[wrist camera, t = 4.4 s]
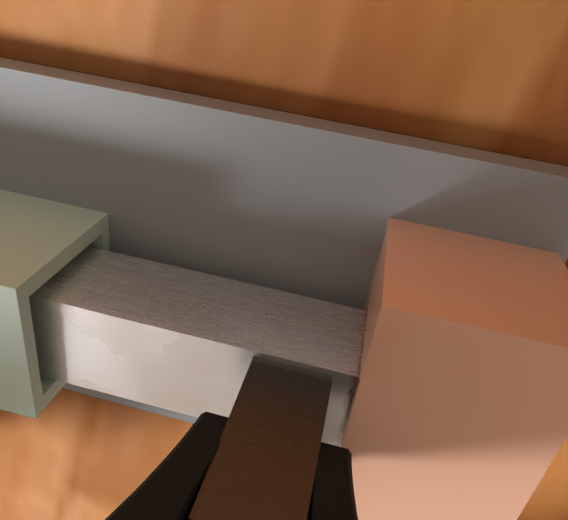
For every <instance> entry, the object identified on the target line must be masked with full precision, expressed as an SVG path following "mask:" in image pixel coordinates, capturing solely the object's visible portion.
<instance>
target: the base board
mask: <svg viewBox="0 0 568 520" xmlns="http://www.w3.org/2000/svg"><path fill="white" fill-rule="evenodd" d="M0 189H2V190H6V191H11V192H15V193H19V194H24V195H28V196H33V197H37V198H42V199H46V200H51V201H55V202H60V203H64V204H69V205H73V206H78V207H82V208H86V209H91V210H95V211H100V212H104V213H108V219H109V242H110V251H112V252H116V253H121V254H125V255H129V256H133V257H138V258H142V259H146V260H151V261H155V262H159V263H164V264H168V265H172V266H176V267H181V268H185V269H189V270H194V271H198V272H202V273H207V274H211V275H215V276H220V277H224V278H228V279H232V280H237V281H241V282H245V283H250V284H254V285H258V286H263V287H267V288H271V289H276V290H280V291H284V292H288V293H293V294H297V295H301V296H306V297H310V298H314V299H319V300H323V301H327V302H331V303H336V304H340V305H344V306H349V307H353V308H357V309H362V310H365V306H366V302H367V298H368V295H369V291H370V287H371V283H372V279H373V276H374V272H375V268H376V264H377V261H378V257H379V253H380V249H381V245H382V242H383V238H384V234H385V230H386V226H387V223H388V219H389V218H394V219H399V220H404V221H408V222H413V223H418V224H423V225H427V226H432V227H437V228H442V229H446V230H451V231H456V232H461V233H465V234H470V235H475V236H480V237H484V238H489V239H494V240H498V241H503V242H508V243H513V244H517V245H522V246H527V247H532V248H536V249H541V250H546V251H551V252H555V253H559V254H560V255H561V257H562V259H563V261H564V263H566V261H567V259H568V166H563V165H558V164H552V163H547V162H542V161H537V160H532V159H527V158H521V157H516V156H511V155H506V154H501V153H495V152H490V151H485V150H480V149H475V148H469V147H464V146H459V145H454V144H449V143H444V142H438V141H433V140H428V139H423V138H418V137H412V136H407V135H402V134H397V133H392V132H386V131H381V130H376V129H371V128H366V127H360V126H355V125H350V124H345V123H340V122H335V121H329V120H324V119H319V118H314V117H309V116H303V115H298V114H293V113H288V112H283V111H277V110H272V109H267V108H262V107H257V106H252V105H246V104H241V103H236V102H231V101H226V100H220V99H215V98H210V97H205V96H200V95H194V94H189V93H184V92H179V91H174V90H168V89H163V88H158V87H153V86H148V85H143V84H137V83H132V82H127V81H122V80H117V79H111V78H106V77H101V76H96V75H91V74H85V73H80V72H75V71H70V70H65V69H60V68H54V67H49V66H44V65H39V64H34V63H28V62H23V61H18V60H13V59H8V58H2V57H0ZM62 389H66V390H70V391H73V392H77V393H81V394H85V395H88V396H92V397H96V398H100V399H103V400H107V401H111V402H115V403H118V404H122V405H126V406H130V407H133V408H137V409H141V410H145V411H148V412H152V413H156V414H160V415H163V416H167V417H171V418H175V419H178V420H182V421H186V422H190V423H193V424H194V423H195V422H196V420H197V419H198V418H197V417H193V416H190V415H186V414H182V413H178V412H175V411H171V410H167V409H163V408H159V407H156V406H152V405H148V404H144V403H141V402H137V401H133V400H129V399H125V398H122V397H118V396H114V395H110V394H107V393H103V392H99V391H95V390H92V389H88V388H84V387H80V386H76V385H73V384H69V383H66V384H65V385H64V386H63V387H62Z"/></svg>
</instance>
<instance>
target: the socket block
mask: <svg viewBox="0 0 568 520" xmlns="http://www.w3.org/2000/svg"><path fill="white" fill-rule="evenodd" d="M365 310H366V311H367V319H366V328H365V336H364V344H363V352H362V360H361V368H360V377H359V381H358V385H357V389H356V392H355V396H354V399H353V403H352V406H351V410H350V413H349V417H348V420H347V424H346V428H345V431H344V435H343V438H342V442H341V445H340V447H343V448H346V449H348V450H349V451H350V452H351V454H352V476H353V487H354V495H355V502H356V509H357V516H358V520H517V519H518V517H519V515H520V514H521V512H522V510H523V509H524V507H525V505H526V504H527V502H528V500H529V499H530V497H531V496H532V494H533V492H534V491H535V489H536V487H537V486H538V484H539V482H540V481H541V479H542V477H543V476H544V474H545V472H546V471H547V469H548V468H549V466H550V464H551V463H552V461H553V459H554V458H555V456H556V454H557V453H558V451H559V449H560V448H561V446H562V444H563V443H564V441H565V440H566V438H567V436H568V269H567V267H566V265H565V263H564V261H563V259H562V257H561V255H560V254H559V253H555V252H551V251H546V250H541V249H536V248H532V247H527V246H522V245H517V244H513V243H508V242H503V241H498V240H494V239H489V238H484V237H480V236H475V235H470V234H465V233H461V232H456V231H451V230H446V229H442V228H437V227H432V226H427V225H423V224H418V223H413V222H408V221H404V220H399V219H394V218H389V219H388V223H387V226H386V230H385V234H384V238H383V242H382V245H381V249H380V253H379V257H378V261H377V264H376V268H375V272H374V276H373V279H372V283H371V287H370V291H369V295H368V298H367V302H366V306H365Z"/></svg>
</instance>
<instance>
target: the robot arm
mask: <svg viewBox="0 0 568 520" xmlns="http://www.w3.org/2000/svg"><path fill="white" fill-rule="evenodd" d="M228 418H229V417H225V416H221V415H217V414H214V413H210V412H204V413H202V414H201V415H200V416H199V417H198V419H197V420H196V422H195V423H194V424H193V426H192V427H191V428H190V429H189V431H188V432H187V433H186V434H185V436H184V437H183V438H182V439H181V441H180V442H179V443H178V444H177V445H176V447H175V448H174V449H173V450H172V451H171V452H170V453H169V455H168V456H167V457H166V458H165V459H164V460H163V461H162V462H161V464H160V465H159V466H158V467H157V468H156V469H155V470H154V471H153V472H152V473H151V474H150V475H149V476H148V477H147V479H146V480H145V481H144V482H143V483H142V484H141V485H140V486H139V487H138V488H137V489H136V490H135V491H134V492H133V493H132V494H131V495H130V496H129V497H128V498H127V499H126V500H125V501H124V502H123V503H122V504H121V505H120V506H119V507H118V508H117V509H116V510H115V511H113V512H112V513H111V514H110V515H109V516H108V517H107V518H106V519H105V520H188V518H189V515H190V513H191V510H192V508H193V505H194V503H195V500H196V498H197V495H198V493H199V490H200V488H201V485H202V483H203V480H204V478H205V475H206V473H207V470H208V468H209V465H210V463H211V460H212V458H213V456H214V454H215V453H216V451H217V449H218V447H219V444H220V442H219V440H220V438H221V435H222V433H223V430H224V428H225V425H226V423H227V420H228ZM307 520H358V516H357V509H356V502H355V495H354V487H353V476H352V454H351V452H350V451H349V450H348V449H346V448H343V447H339V446H335V445H331V444H327V443H324V442H321V446H320V451H319V456H318V462H317V467H316V471H315V478H314V483H313V488H312V494H311V499H310V505H309V510H308V515H307Z"/></svg>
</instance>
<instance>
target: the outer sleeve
mask: <svg viewBox="0 0 568 520" xmlns="http://www.w3.org/2000/svg"><path fill="white" fill-rule="evenodd" d="M87 246H90V247H95V248H99V249H103V250H108V251H110V242H109V219H108V213H104V212H100V211H95V210H91V209H86V208H82V207H78V206H73V205H69V204H64V203H60V202H55V201H51V200H46V199H42V198H37V197H33V196H28V195H24V194H19V193H15V192H11V191H6V190H2V189H0V409H1V410H5V411H8V412H12V413H16V414H19V415H23V416H27V417H30V418H34V419H37V418H38V416H39V415H40V414H41V413H42V412H43V410H44V409H45V408H46V407H47V406H48V404H49V403H50V402H51V401H52V399H53V398H54V397H55V396H56V395H57V393H58V392H59V391H60V390H61V389H62V387H63V386H64V385H65V384H66V383H65V382H61V381H58V380H54V379H50V378H46V377H43V376H40V372H39V365H38V358H37V351H36V344H35V337H34V330H33V323H32V316H31V309H30V302H29V297H30V296H31V295H32V294H33V293H34V292H35V291H36V290H38V289H39V288H40V287H41V286H42V285H43V284H45V283H46V282H47V281H48V280H49V279H50V278H51V277H53V276H54V275H55V274H56V273H57V272H58V271H60V270H61V269H62V268H63V267H64V266H65V265H66V264H68V263H69V262H70V261H71V260H72V259H73V258H75V257H76V256H77V255H78V254H79V253H80V252H81V251H83V250H84V249H85V248H86V247H87Z"/></svg>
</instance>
